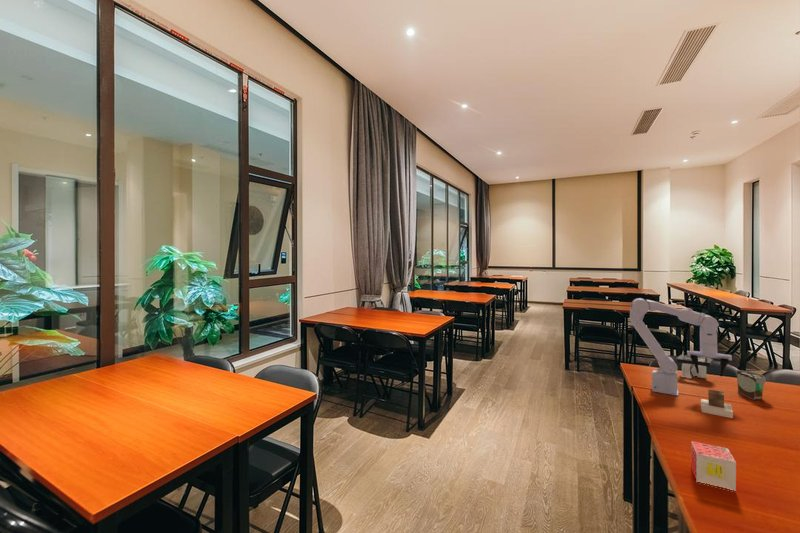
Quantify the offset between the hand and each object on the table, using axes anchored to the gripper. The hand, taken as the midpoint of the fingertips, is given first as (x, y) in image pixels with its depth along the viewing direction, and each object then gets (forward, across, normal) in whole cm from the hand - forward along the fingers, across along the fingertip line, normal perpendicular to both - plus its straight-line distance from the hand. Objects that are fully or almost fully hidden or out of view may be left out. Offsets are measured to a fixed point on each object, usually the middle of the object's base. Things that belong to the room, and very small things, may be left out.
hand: (709, 374), depth 153 cm
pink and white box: (+10, -3, -75) cm, 76 cm away
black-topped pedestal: (+11, -5, +30) cm, 32 cm away
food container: (+11, +15, +14) cm, 23 cm away
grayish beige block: (+8, +1, -16) cm, 18 cm away
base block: (+11, +1, -16) cm, 19 cm away
